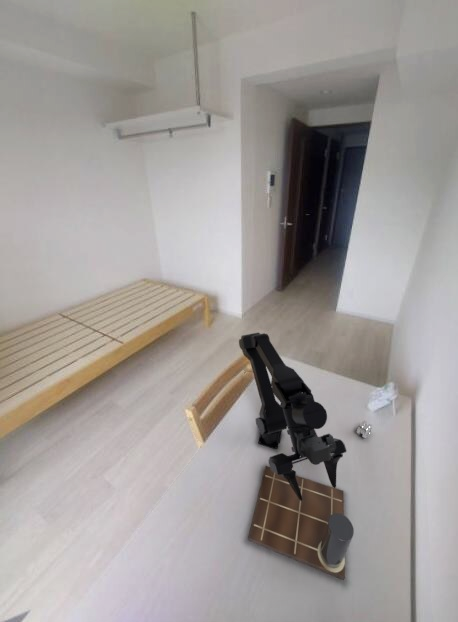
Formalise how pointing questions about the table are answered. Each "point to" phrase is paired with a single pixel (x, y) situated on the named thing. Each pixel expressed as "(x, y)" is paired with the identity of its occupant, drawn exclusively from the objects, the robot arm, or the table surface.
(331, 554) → the dark grey cylinder
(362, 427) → the metal grooved wheel
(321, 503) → the board
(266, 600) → the table surface
